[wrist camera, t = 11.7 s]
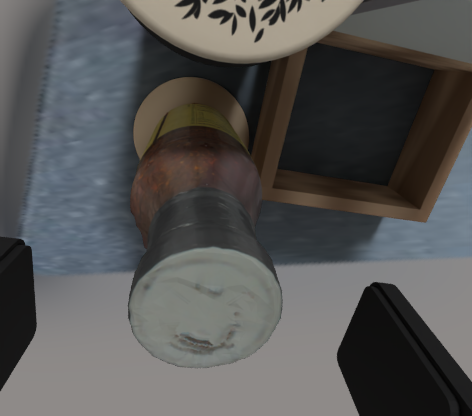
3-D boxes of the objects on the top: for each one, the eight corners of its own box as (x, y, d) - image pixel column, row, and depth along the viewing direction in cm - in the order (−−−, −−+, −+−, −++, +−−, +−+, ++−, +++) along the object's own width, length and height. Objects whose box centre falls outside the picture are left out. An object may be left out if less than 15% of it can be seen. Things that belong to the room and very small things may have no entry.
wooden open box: (451, 58, 26) (530, 61, 20) (393, 197, 31) (442, 235, 25) (280, 18, 24) (310, 7, 18) (246, 175, 29) (260, 210, 22)
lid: (453, 59, 26) (999, 82, 8) (447, 72, 27) (956, 122, 9) (270, 15, 24) (494, -85, 6) (267, 31, 24) (466, -18, 6)
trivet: (258, 89, 26) (260, 90, 25) (236, 195, 30) (237, 198, 29) (138, 65, 24) (137, 66, 24) (131, 181, 28) (129, 183, 27)
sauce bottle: (189, 192, 28) (174, 438, 10) (137, 132, 26) (0, 323, 8) (253, 145, 27) (358, 334, 9) (205, 79, 25) (224, 161, 7)
